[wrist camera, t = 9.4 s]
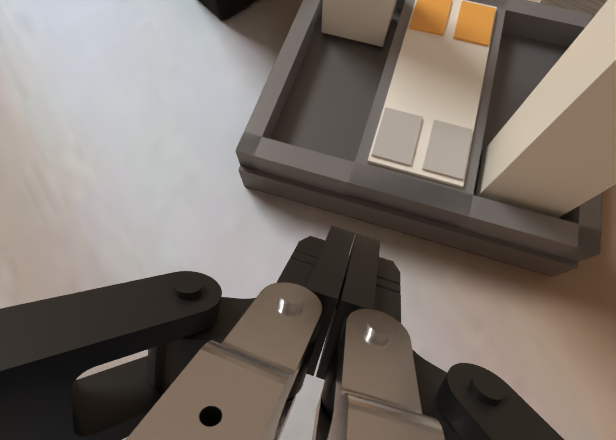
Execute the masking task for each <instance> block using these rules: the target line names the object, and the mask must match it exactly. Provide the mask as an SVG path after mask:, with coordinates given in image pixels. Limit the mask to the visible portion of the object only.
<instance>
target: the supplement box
mask: <svg viewBox="0 0 616 440" xmlns="http://www.w3.org/2000/svg"><path fill="white" fill-rule="evenodd" d="M607 1H608V0H539V1H538V3H541V4H546V5H550V6H555V7H560V8H564V9H569V10H574V11H578V12H583V13H587V14H592V15H596V14H597V13H598V11H599V10H600V9H601V8H602V7H603V5H604V4H605V3H606V2H607Z"/></svg>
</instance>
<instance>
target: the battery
mask: <svg viewBox="0 0 616 440" xmlns="http://www.w3.org/2000/svg"><path fill="white" fill-rule="evenodd" d="M201 1H202V2H203V3H204V4H205V5H206V6H207V7H208V8H210V9H211V10H212V11H213V12H214V13H215V14H216V15H217V16H219V17H220V18H221V19H227V18H229V17H231V16H233V15H234V14H236V13H237V12H239V11H241V10H242V9H244V8H245V7H247V6H249V5H250V4H252V3H253V2H255V1H257V0H201Z"/></svg>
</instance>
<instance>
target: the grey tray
mask: <svg viewBox="0 0 616 440" xmlns="http://www.w3.org/2000/svg"><path fill="white" fill-rule="evenodd" d="M322 6H323V0H303V1H302V4H301V6H300V8H299V10H298V13H297V15H296V17H295V19H294V21H293V24H292V26H291V28H290V30H289V33H288V35H287V37H286V39H285V42H284V44H283V46H282V48H281V50H280V53H279V55H278V57H277V59H276V62H275V64H274V66H273V68H272V70H271V73H270V75H269V77H268V79H267V82H266V84H265V86H264V88H263V91H262V93H261V95H260V97H259V99H258V102H257V104H256V106H255V108H254V111H253V113H252V115H251V117H250V119H249V122H248V124H247V126H246V128H245V131H244V133H243V135H242V137H241V139H240V142H239V144H238V146H237V148H236V154H237V157H238V159H239V162H240V167H239V173H240V175H241V178H242V181H243V184H244V186H246V187H249V188H253V189H256V190H260V191H263V192H267V193H270V194H273V195H277V196H280V197H284V198H287V199H290V200H294V201H297V202H301V203H304V204H307V205H311V206H314V207H318V208H321V209H325V210H328V211H331V212H335V213H338V214H342V215H345V216H348V217H352V218H355V219H359V220H362V221H366V222H369V223H372V224H376V225H379V226H383V227H386V228H389V229H393V230H396V231H400V232H403V233H407V234H410V235H413V236H417V237H420V238H424V239H427V240H430V241H434V242H437V243H441V244H444V245H448V246H451V247H454V248H458V249H461V250H465V251H468V252H471V253H475V254H478V255H482V256H485V257H489V258H492V259H495V260H499V261H502V262H506V263H509V264H512V265H516V266H519V267H523V268H526V269H529V270H533V271H536V272H540V273H543V274H547V275H550V276H555V275H558V274H561V273H563V272H566V271H569V270H572V269H575V268H577V267H578V262H579V261H581V260H584V259H587V258H589V257H592V256H595V255H597V254H600V236H601V210H602V193H600V194H598V195H597V196H595V197H593V198H591V199H590V200H588V201H586V202H585V203H583V204H581V205H579V206H578V207H576V208H574V209H573V210H571V211H569V212H567V213H566V214H564V215H562V216H561V217H559V218H555V217H551V216H548V215H544V214H540V213H537V212H533V211H530V210H526V209H522V208H519V207H515V206H511V205H508V204H504V203H501V202H497V201H493V200H490V199H486V198H482V197H479V196H475V195H476V189H477V183H478V177H479V172H480V166H481V160H482V154H483V151H484V150H485V148H486V147H487V146H488V145H489V144H490V142H491V141H492V140H493V139H494V138H495V136H496V135H497V134H498V133H499V132H500V130H501V129H502V128H503V127H504V125H505V124H506V123H507V122H508V121H509V119H510V118H511V117H512V116H513V115H514V113H515V112H516V111H517V110H518V108H519V107H520V106H521V105H522V104H523V102H524V101H525V100H526V99H527V98H528V96H529V95H530V94H531V93H532V91H533V90H534V89H535V88H536V87H537V85H538V84H539V83H540V82H541V81H542V79H543V78H544V77H545V76H546V75H547V73H548V72H549V71H550V70H551V68H552V67H553V66H554V65H555V64H556V62H557V61H558V60H559V59H560V58H561V56H562V55H563V54H564V53H565V51H566V50H567V49H568V48H569V47H570V45H571V44H572V43H573V42H574V41H575V39H576V38H577V37H578V36H579V34H580V33H581V32H582V31H583V30H584V28H585V27H586V26H587V25H588V24H589V22H590V21H591V20H592V19H593V18H594V16H595V15H592V14H587V13H583V12H578V11H574V10H569V9H564V8H560V7H555V6H550V5H546V4H541V3H536V2H532V1H527V0H397V2H396V6H395V10H394V14H393V17H392V20H391V24H390V27H389V30H388V33H387V36H386V39H385V42H384V45H383V47H381V46H377V45H372V44H368V43H364V42H360V41H356V40H351V39H347V38H343V37H339V36H335V35H330V34H326V33H322V32H321V31H322Z"/></svg>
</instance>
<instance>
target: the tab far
mask: <svg viewBox="0 0 616 440" xmlns="http://www.w3.org/2000/svg"><path fill="white" fill-rule="evenodd" d="M396 2H397V0H323V6H322V31H321V32H322V33H326V34H330V35H335V36H339V37H343V38H347V39H351V40H356V41H360V42H364V43H368V44H372V45H377V46H381V47H383V45H384V42H385V39H386V36H387V33H388V30H389V27H390V24H391V20H392V17H393V14H394V10H395V6H396Z"/></svg>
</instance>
